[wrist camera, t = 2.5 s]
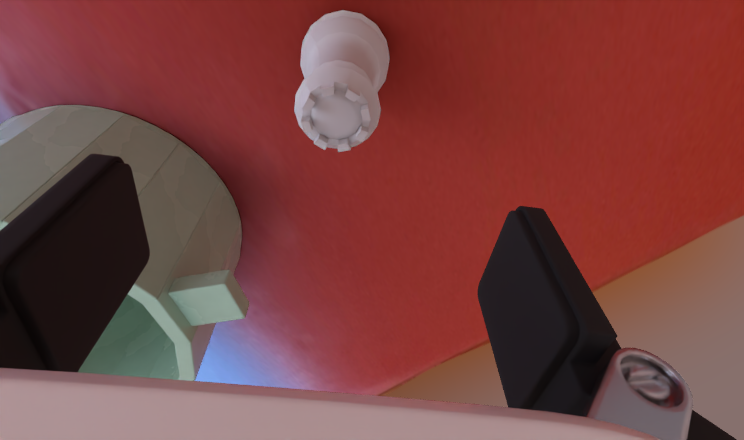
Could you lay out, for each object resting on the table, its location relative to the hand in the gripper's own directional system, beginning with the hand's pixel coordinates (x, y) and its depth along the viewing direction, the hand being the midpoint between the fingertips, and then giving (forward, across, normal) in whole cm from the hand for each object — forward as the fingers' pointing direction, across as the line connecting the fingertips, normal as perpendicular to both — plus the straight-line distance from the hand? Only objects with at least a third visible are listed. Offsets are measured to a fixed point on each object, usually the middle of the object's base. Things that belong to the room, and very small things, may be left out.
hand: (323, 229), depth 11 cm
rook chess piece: (+14, 0, -1) cm, 14 cm away
